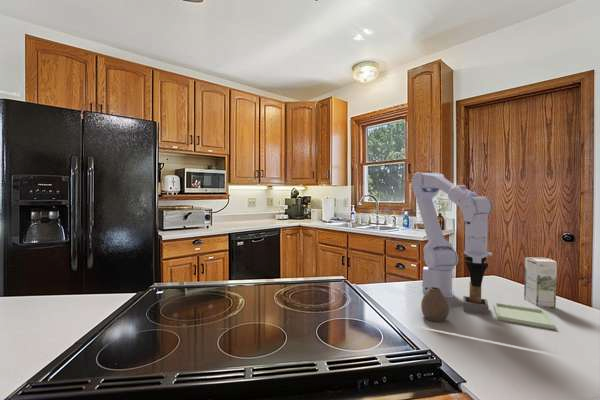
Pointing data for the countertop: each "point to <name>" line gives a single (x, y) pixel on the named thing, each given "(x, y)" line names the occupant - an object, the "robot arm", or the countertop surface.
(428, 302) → the vase
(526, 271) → the syrup box
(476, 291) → the dowel
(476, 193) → the robot arm
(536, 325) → the tray
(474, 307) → the square holder
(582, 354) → the countertop surface
